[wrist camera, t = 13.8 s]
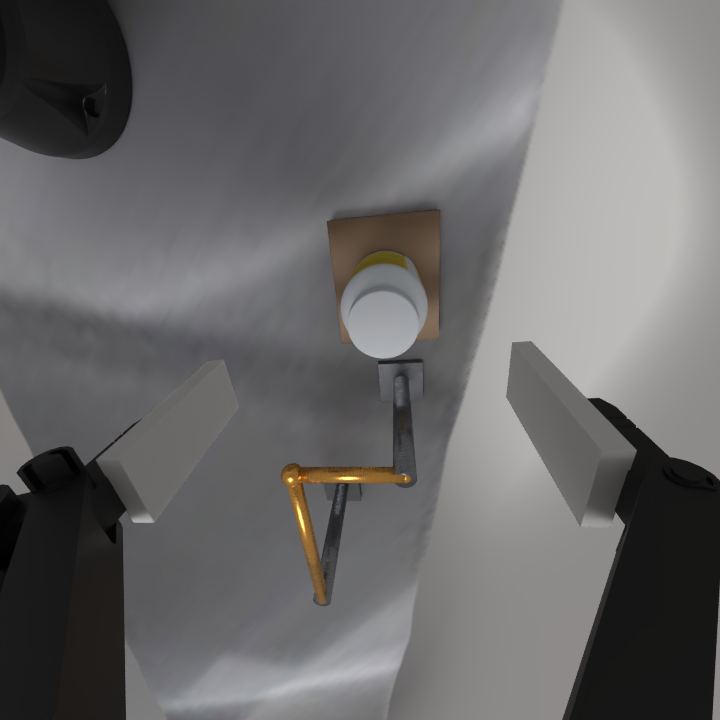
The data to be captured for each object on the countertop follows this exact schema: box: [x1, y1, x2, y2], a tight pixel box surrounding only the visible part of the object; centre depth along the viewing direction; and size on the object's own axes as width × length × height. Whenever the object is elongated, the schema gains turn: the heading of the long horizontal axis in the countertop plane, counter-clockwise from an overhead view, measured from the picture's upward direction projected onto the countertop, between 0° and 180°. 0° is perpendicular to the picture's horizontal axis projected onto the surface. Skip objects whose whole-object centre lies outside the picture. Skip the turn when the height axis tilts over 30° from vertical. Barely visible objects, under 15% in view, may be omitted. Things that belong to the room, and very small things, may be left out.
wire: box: [281, 360, 423, 606], centre depth 36 cm, size 22×14×16 cm, turn 6°
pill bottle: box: [341, 250, 428, 358], centre depth 26 cm, size 6×6×12 cm
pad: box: [327, 210, 440, 344], centre depth 32 cm, size 12×10×2 cm
